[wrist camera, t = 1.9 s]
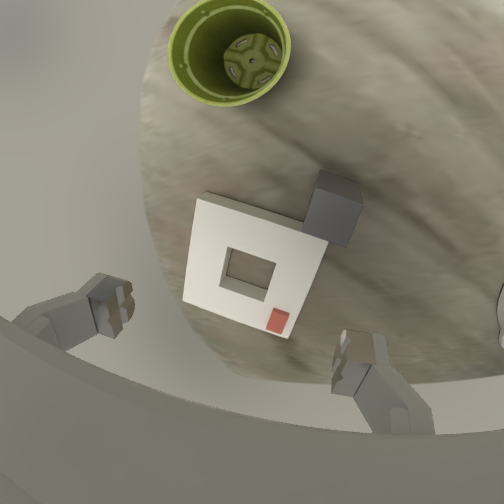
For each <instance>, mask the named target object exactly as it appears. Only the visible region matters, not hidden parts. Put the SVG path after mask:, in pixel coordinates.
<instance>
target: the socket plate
mask: <svg viewBox="0 0 504 504" xmlns="http://www.w3.org/2000/svg"><path fill="white" fill-rule="evenodd" d="M302 227H303V222H300V221H297V220H294V219H291V218H288V217H285V216H282V215H279V214H276V213H273V212H270V211H267V210H264V209H261V208H257V207H254V206H251V205H248V204H245V203H242V202H239V201H235V200H232V199H229V198H226V197H222V196H219V195H216V194H213V193H209V192H205V193H204V194H203V195H201V196H200V197H199V198H197V203H196V209H195V215H194V221H193V228H192V234H191V241H190V248H189V255H188V262H187V270H186V277H185V285H184V294H183V301H185V302H188V303H190V304H193V305H195V306H198V307H201V308H203V309H206V310H208V311H211V312H214V313H216V314H219V315H221V316H224V317H227V318H230V319H232V320H235V321H238V322H240V323H243V324H246V325H249V326H252V327H254V328H257V329H260V330H263V331H266V332H269V333H272V334H275V335H278V336H281V337H284V338H287V339H288V337H289V335H290V333H291V330H292V328H293V326H294V324H295V321H296V319H297V317H298V315H299V312H300V310H301V308H302V305H303V303H304V301H305V299H306V296H307V294H308V291H309V289H310V287H311V284H312V282H313V280H314V277H315V275H316V272H317V270H318V267H319V265H320V263H321V260H322V258H323V255H324V253H325V250H326V247H327V245H328V241H325V240H323V239H320V238H317V237H314V236H311V235H308V234H305V233H302V232H301V230H302ZM232 248H234V249H237V250H240V251H243V252H246V253H248V254H251V255H254V256H257V257H260V258H263V259H266V260H269V261H272V262H275V263H276V267H275V270H274V273H273V276H272V279H271V282H270V285H269V288H268V290H266V289H263V288H260V287H257V286H255V285H252V284H249V283H246V282H243V281H240V280H238V279H235V278H232V277H229V276H226V272H227V268H228V263H229V259H230V255H231V250H232Z"/></svg>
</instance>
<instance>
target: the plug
mask: <svg viewBox="0 0 504 504" xmlns="http://www.w3.org/2000/svg"><path fill="white" fill-rule="evenodd" d="M362 207H363V201H362V197H361V193H360V189H359V185H358V183H357V182H354V181H352V180H349V179H346V178H343V177H340V176H338V175H335V174H332V173H329V172H326V171H323V170H320V171H319V174H318V178H317V181H316V184H315V187H314V190H313V193H312V196H311V199H310V202H309V205H308V209H307V213H306V216H305V220H304V223H303V227H302V230H301V232H302V233H305V234H308V235H311V236H314V237H317V238H320V239H323V240H325V241H328V242H331V243H334V244H337V245H340V246H343V247H345V248H346V247H347V244H348V242H349V240H350V237H351V235H352V232H353V230H354V227H355V225H356V222H357V220H358V217H359V215H360V212H361V210H362Z"/></svg>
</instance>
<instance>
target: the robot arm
mask: <svg viewBox="0 0 504 504" xmlns="http://www.w3.org/2000/svg"><path fill="white" fill-rule="evenodd" d="M132 291H133V289H132V283H130V282H129V281H126V280H123V279H120V278H116V277H113V276H110V275H106V274H103V273H97V274H95V275H94V276H93V277H92V278H91V279H90V280H89V281H88V282H87V283H86V284H85V285H83V286H82V287H81V288H80V289H79V290H78V291H77V292H76V293H75V292H71V293H68V294H65V295H62V296H59V297H56V298H53V299H50V300H47V301H44V302H41V303H38V304H35V305H32V306H29V307H27V308H25V309H24V310H23V311H22V312H21V313H20V314H19V315H18V316H17V317H16V318H15V319H14V320H13V321H12V322H9V321H8V320H6V319H4V318H3V317H1V316H0V504H504V429H500V430H494V431H486V432H475V433H462V434H443V435H435V429H434V423H433V418H432V412H431V408H430V407H429V406H428V405H427V404H426V402H425V401H424V400H423V399H422V398H421V397H420V396H419V394H418V393H417V392H416V391H415V390H414V389H413V388H412V387H411V386H410V384H409V383H408V382H407V381H406V380H405V379H404V378H403V377H402V376H401V374H400V373H399V372H398V371H397V370H396V369H395V368H394V367H391V366H390V362H389V356H388V351H387V345H386V340H385V336H384V334H378V333H368V332H361V331H355V330H349V329H344V330H343V332H342V334H341V343H340V344H339V345H337V347H336V350H335V353H334V357H333V362H332V371H333V372H334V375H333V378H332V386H331V394H338V395H344V396H350V397H353V398H354V400H355V402H356V404H357V405H358V407H359V409H360V411H361V412H362V414H363V416H364V417H365V419H366V421H367V422H368V424H369V426H370V428H371V429H372V431H373V432H372V433H359V432H347V431H338V430H329V429H322V428H314V427H307V426H300V425H294V424H288V423H283V422H277V421H272V420H267V419H262V418H257V417H252V416H248V415H243V414H239V413H235V412H231V411H226V410H223V409H219V408H215V407H211V406H208V405H204V404H201V403H197V402H194V401H190V400H187V399H184V398H181V397H177V396H174V395H171V394H168V393H165V392H162V391H159V390H156V389H153V388H150V387H148V386H145V385H142V384H139V383H136V382H134V381H131V380H129V379H126V378H124V377H121V376H118V375H116V374H114V373H111V372H109V371H106V370H104V369H101V368H99V367H96V366H95V365H92V364H90V363H88V362H86V361H84V360H81V359H79V358H77V357H75V356H72V355H70V354H69V353H67V352H65V351H67V350H69V349H71V348H73V347H74V346H76V345H78V344H80V343H82V342H84V341H86V340H88V339H89V338H91V337H93V336H95V335H97V334H98V333H99V334H102V335H104V336H107V337H110V338H113V339H115V338H116V337H117V336H118V334H119V333H120V332H121V331H122V329H123V324H124V323H126V322H128V321H129V320H130V319H131V317H132V315H133V312H134V308H135V302H134V299H133V297H132V296H131V292H132ZM497 316H498V321H499V324H500V328H501V330H500V335H499V344H500V345H501V347H502V348H504V287H503V289H502V291H501V294H500V297H499V301H498V307H497Z"/></svg>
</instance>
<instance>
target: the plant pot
mask: <svg viewBox="0 0 504 504" xmlns="http://www.w3.org/2000/svg"><path fill="white" fill-rule="evenodd" d="M245 39H246V40H248V41H247V42H245V43H243V44H241V45H239V46H238V47H236V44H237V43H239V42H240V41H242V40H245ZM270 45H273V46H274V47H275V49H276V50H277V52H278V56H275V54H274V52H273V50H272V49H271V48H270ZM290 54H291V38H290V33H289V30H288V27H287V25H286V23H285V21H284V19H283V18H282V16H281V15H280V14H279V13H278V11H277V10H276V9H275V8H273V7H272V6H271V5H270V4H268V3H267V2H265V1H264V0H201V1H200V2H198V3H196V4H195V5H193V6H192V7H191V8H189V9H188V10H187V11H186V12H185V13H184V14H183V16H182V17H181V18H180V19H179V21H178V22H177V24H176V25H175V27H174V29H173V31H172V34H171V36H170V40H169V44H168V52H167V57H168V64H169V68H170V72H171V74H172V77H173V78H174V80H175V82H176V83H177V84H178V86H179V87H180V88H181V89H182V90H183V91H184V92H185V93H186V94H187V95H189V96H190V97H191V98H193V99H195V100H196V101H199V102H201V103H204V104H207V105H211V106H216V107H232V106H238V105H242V104H246V103H248V102H251V101H253V100H255V99H257V98H259V97H261V96H262V95H264V94H265V93H267V92H268V91H269V90H270V89H271V88H272V87H273V86H274V85H275V84H276V83H277V82H278V81H279V79H280V78H281V77H282V75H283V73H284V72H285V70H286V68H287V65H288V62H289V59H290ZM252 58H254V59H255V62H253V63H251V62H250V59H252ZM230 67H232V68H233V70H234V72H235V74H236V76H237V78H236V77H234V76H233V75H232V74H231V72H230V70H229V69H230ZM268 76H271V77H270V79H269V80H267V81H265V83H262V84H259V83H258V81H261V80H263V79H265V78H267V77H268Z"/></svg>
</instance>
